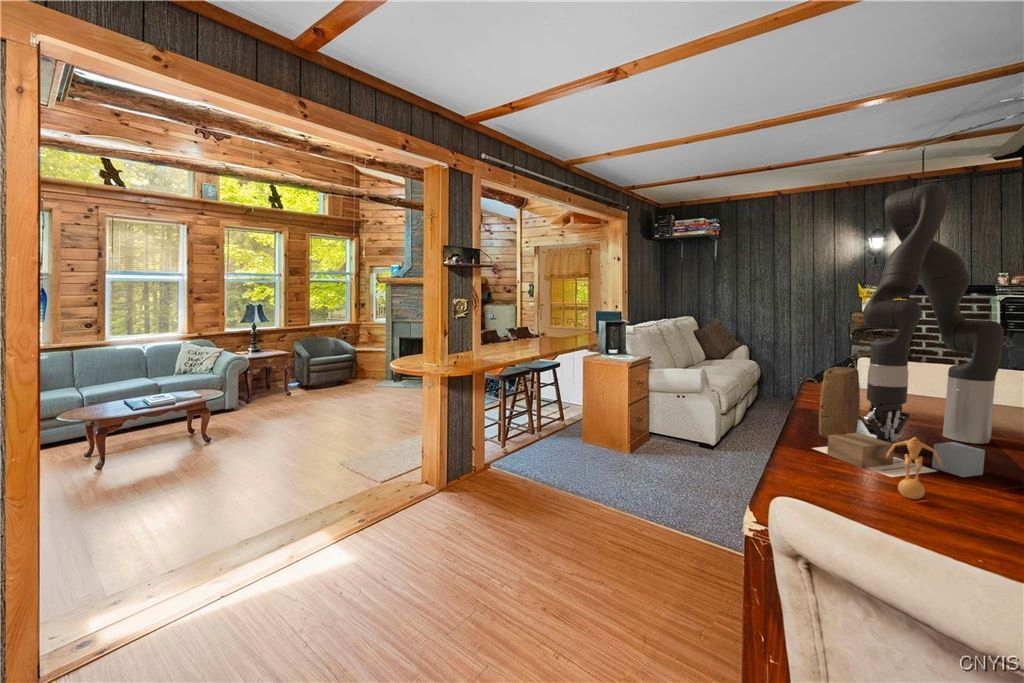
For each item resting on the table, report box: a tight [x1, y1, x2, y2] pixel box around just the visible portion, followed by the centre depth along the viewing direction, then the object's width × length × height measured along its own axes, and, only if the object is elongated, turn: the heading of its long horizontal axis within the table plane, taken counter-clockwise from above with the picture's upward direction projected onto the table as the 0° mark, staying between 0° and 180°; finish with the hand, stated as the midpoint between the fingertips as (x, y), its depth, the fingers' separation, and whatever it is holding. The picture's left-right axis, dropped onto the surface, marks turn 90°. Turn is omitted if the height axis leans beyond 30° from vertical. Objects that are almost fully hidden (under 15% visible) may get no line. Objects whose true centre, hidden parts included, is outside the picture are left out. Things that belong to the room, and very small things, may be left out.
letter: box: [811, 445, 938, 478], centre depth 111 cm, size 14×20×1 cm
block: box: [818, 366, 861, 440], centre depth 128 cm, size 11×8×20 cm
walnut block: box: [826, 432, 895, 469], centre depth 110 cm, size 9×9×5 cm
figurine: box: [886, 436, 942, 500], centre depth 90 cm, size 8×6×12 cm
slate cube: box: [931, 441, 986, 478], centre depth 103 cm, size 6×6×6 cm
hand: (883, 451), depth 112 cm, fingers closed
